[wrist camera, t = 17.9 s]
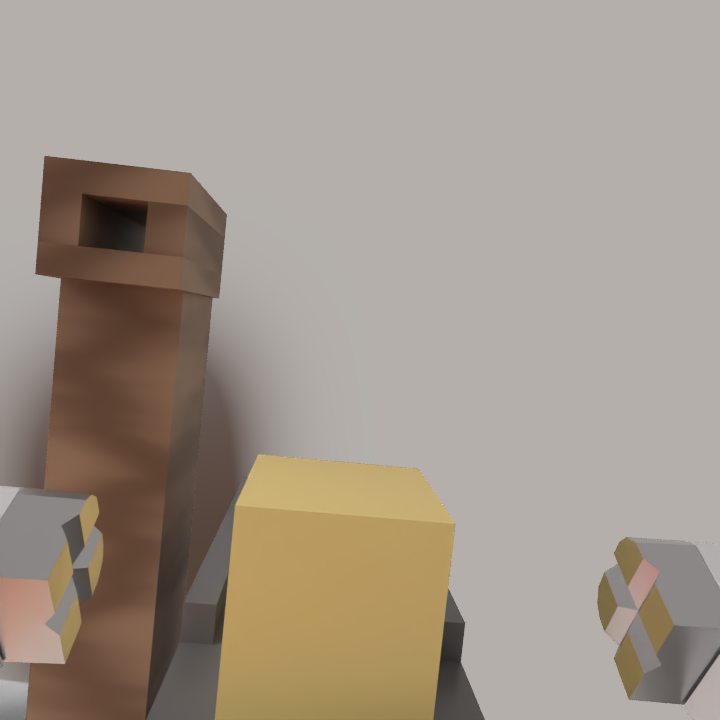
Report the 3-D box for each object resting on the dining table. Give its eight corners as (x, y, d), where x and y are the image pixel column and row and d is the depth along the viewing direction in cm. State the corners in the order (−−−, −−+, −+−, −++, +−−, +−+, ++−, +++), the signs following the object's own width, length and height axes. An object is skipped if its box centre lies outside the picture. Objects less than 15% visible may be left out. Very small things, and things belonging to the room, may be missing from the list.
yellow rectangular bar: (214, 721, 13) (234, 505, 13) (273, 496, 30) (283, 401, 30) (431, 735, 14) (455, 524, 13) (369, 504, 30) (379, 410, 30)
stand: (-105, 1110, 20) (-35, 132, 18) (56, 810, 31) (106, 207, 30) (136, 1116, 20) (223, 162, 19) (204, 818, 32) (261, 224, 30)
